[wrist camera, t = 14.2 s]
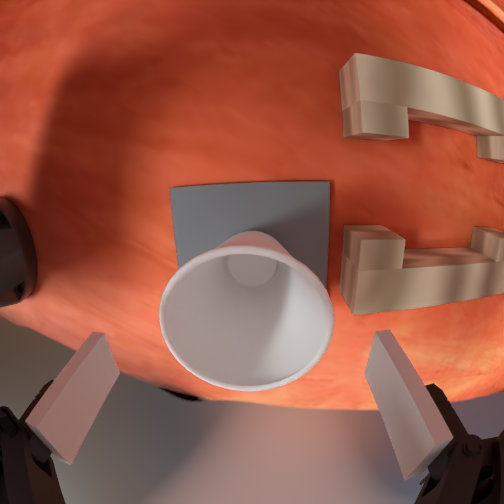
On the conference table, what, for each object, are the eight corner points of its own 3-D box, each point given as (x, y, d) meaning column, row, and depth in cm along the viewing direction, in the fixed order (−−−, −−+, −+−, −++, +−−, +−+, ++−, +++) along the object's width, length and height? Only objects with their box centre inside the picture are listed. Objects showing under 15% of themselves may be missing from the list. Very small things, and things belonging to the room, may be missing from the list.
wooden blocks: (338, 289, 26) (353, 314, 21) (338, 71, 20) (355, 52, 15) (483, 276, 25) (506, 292, 20) (493, 110, 19) (520, 108, 14)
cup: (324, 280, 25) (357, 354, 15) (234, 324, 27) (220, 407, 17) (273, 187, 23) (283, 208, 12) (178, 242, 25) (126, 298, 14)
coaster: (189, 321, 28) (187, 324, 28) (171, 187, 24) (169, 188, 23) (322, 319, 27) (323, 322, 27) (328, 181, 23) (329, 181, 22)
